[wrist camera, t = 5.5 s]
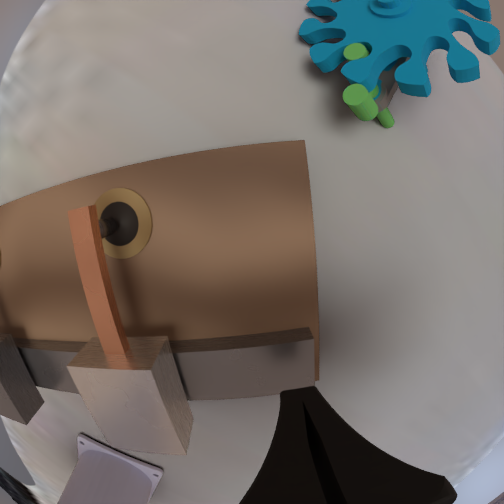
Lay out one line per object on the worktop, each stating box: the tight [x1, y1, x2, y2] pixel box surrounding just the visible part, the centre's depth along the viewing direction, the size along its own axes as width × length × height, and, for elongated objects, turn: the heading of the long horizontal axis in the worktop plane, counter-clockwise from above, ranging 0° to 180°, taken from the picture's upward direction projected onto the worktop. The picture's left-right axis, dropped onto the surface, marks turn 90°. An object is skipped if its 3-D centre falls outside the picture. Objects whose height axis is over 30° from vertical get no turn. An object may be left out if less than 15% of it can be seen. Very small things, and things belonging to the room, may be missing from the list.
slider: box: [67, 205, 194, 455], centre depth 11 cm, size 11×4×4 cm, turn 7°
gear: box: [299, 0, 500, 128], centre depth 9 cm, size 11×6×10 cm
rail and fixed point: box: [0, 327, 315, 425], centre depth 11 cm, size 11×21×4 cm, turn 97°
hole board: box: [0, 140, 319, 381], centre depth 13 cm, size 12×22×2 cm, turn 97°
